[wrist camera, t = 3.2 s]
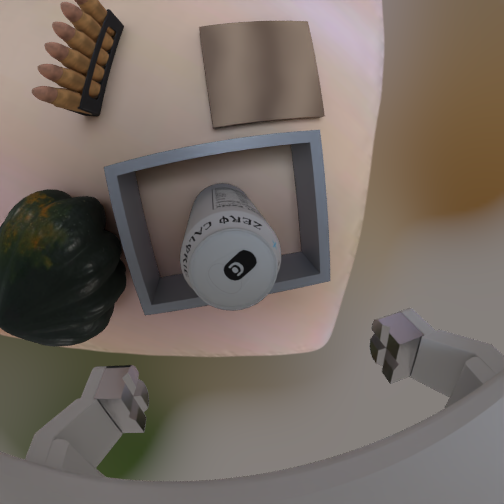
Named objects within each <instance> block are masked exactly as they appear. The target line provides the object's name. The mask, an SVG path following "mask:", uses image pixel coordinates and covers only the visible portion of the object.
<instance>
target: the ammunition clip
mask: <svg viewBox="0 0 504 504" xmlns="http://www.w3.org/2000/svg"><path fill="white" fill-rule="evenodd" d="M75 1H76V2H77V4H78V5H79V6H80V8H81V10H80V9H79V8H78V7H77V6H75V5H73V4H71V3H68V2H62V3H61V10H62V12H63V14H64V15H65V16H66V18H67V19H68V20H70V22H71V23H72V24H73V25H74V27H75V29H74V28H73V27H71V26H70V25H68V24H66V23H63V22H53V24H52V27H53V29H54V31H55V33H56V34H57V35H58V36H59V37H60V38H61V39H63V40H64V41H65V42H66V43H67V44H68V46H69V47H70V48H72V49H70V48H68V47H66V46H64V45H62V44H59V43H54V42H49V43H46V44H45V49H46V51H47V52H48V53H49V54H50V55H51V56H52V57H53V58H55V59H57V60H58V61H60V62H61V63H62V64H63V65H64V66H65V67H67V68H69V69H67V68H63V67H59V66H57V65H53V64H42V65H39V66H38V71H39V72H40V73H41V74H42V75H43V76H44V77H46V78H47V79H49V80H52V81H53V82H55V83H57V84H58V85H59V86H61V87H63V88H53V87H47V86H40V87H36V88H34V89H32V94H33V95H34V96H35V97H36V98H38V99H39V100H42V101H45V102H48V103H51V104H53V105H54V106H56V107H60V108H64V109H67V110H70V111H73V112H76V113H79V114H82V115H84V116H99V115H100V111H101V106H102V102H103V97H104V93H105V88H106V84H107V80H108V76H109V73H110V69H111V65H112V62H113V58H114V55H115V52H116V48H117V45H118V42H119V39H120V36H121V33H122V30H123V27H124V26H123V24H122V23H121V22H120V21H119V20H118V19H117V17H116V16H115V15H114V14H113V13H112V12H111V10H109V9H108V10H107V11H108V12H107V11H106V9H105V8H104V7H103V6H102V5H101V3H100V2H99V1H98V0H75ZM77 30H78V31H77ZM64 88H66V89H64Z"/></svg>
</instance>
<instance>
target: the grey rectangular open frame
mask: <svg viewBox="0 0 504 504" xmlns="http://www.w3.org/2000/svg"><path fill="white" fill-rule="evenodd" d="M287 144H291V151H292V159H293V168H294V176H295V186H296V195H297V205H298V215H299V226H300V238H301V250H302V252H297V253H291V254H286V255H281V264H280V269H279V271H278V274H277V278H276V281H275V283H274V286H273V288H272V289H271V291H270V292H269V293H268V294H271V293H276V292H281V291H286V290H291V289H296V288H300V287H305V286H310V285H314V284H319V283H323V282H328V281H330V251H329V229H328V212H327V197H326V185H325V173H324V163H323V153H322V144H321V135H320V130H311V131H297V132H286V133H276V134H267V135H258V136H250V137H243V138H236V139H229V140H223V141H217V142H211V143H205V144H199V145H194V146H189V147H184V148H179V149H174V150H169V151H165V152H160V153H156V154H152V155H147V156H143V157H139V158H135V159H131V160H128V161H124V162H120V163H116V164H113V165H109V166H106V167H104V171H105V176H106V181H107V186H108V190H109V195H110V199H111V204H112V208H113V212H114V216H115V220H116V224H117V228H118V232H119V236H120V239H121V243H122V246H123V250H124V253H125V257H126V260H127V263H128V267H129V270H130V273H131V276H132V279H133V282H134V285H135V288H136V291H137V294H138V297H139V300H140V303H141V306H142V309H143V311H144V314H145V315H151V314H158V313H164V312H171V311H177V310H183V309H189V308H195V307H201V306H207V305H208V304H207V303H206V302H204V301H203V300H202V299H201V298H200V297H199V296H198V295H197V294H196V293H195V291H194V290H193V289H192V288H191V287H190V286H189V284H188V283H187V281H186V280H185V278H184V275H183V273H182V274H177V275H171V276H166V277H160V274H159V271H158V267H157V264H156V260H155V256H154V252H153V249H152V245H151V241H150V237H149V233H148V229H147V225H146V221H145V216H144V212H143V208H142V203H141V198H140V194H139V189H138V184H137V179H136V174H135V171H137V170H141V169H146V168H150V167H154V166H159V165H163V164H168V163H172V162H177V161H182V160H187V159H192V158H197V157H203V156H208V155H214V154H220V153H226V152H233V151H239V150H246V149H253V148H261V147H269V146H278V145H287Z"/></svg>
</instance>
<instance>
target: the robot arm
mask: <svg viewBox="0 0 504 504" xmlns="http://www.w3.org/2000/svg"><path fill="white" fill-rule="evenodd" d="M372 331H373V332H374V333H375V334H374V335H373V336H372V338H371V339H370V351H371V355H372V358H373V360H374V361H375V363H376V364H379V365H381V366H383V368H382V373H383V374H384V375H385V377H386V379H387V380H388V381H389V383H390V384H391V383H394V382H397V381H400V380H402V379H405V378H407V377H410V376H411V378H413V379H415V380H416V381H418V382H420V383H422V384H424V385H426V386H428V387H430V388H432V389H434V390H436V391H438V392H440V393H442V394H444V395H446V396H448V397H450V398H449V400H448V402H447V404H446V406H445V409H443V410H441V411H440V412H438V413H436V414H434V415H432V416H430V417H429V418H427V419H425V420H423V421H421V422H419V423H417V424H415V425H413V426H411V427H409V428H406V429H404V430H402V431H400V432H398V433H395V434H393V435H391V436H388V437H386V438H384V439H381V440H379V441H376V442H374V443H372V444H369V445H366V446H363V447H361V448H358V449H355V450H352V451H349V452H346V453H343V454H340V455H337V456H334V457H331V458H327V459H324V460H320V461H317V462H313V463H310V464H306V465H301V466H297V467H293V468H288V469H283V470H279V471H274V472H268V473H263V474H256V475H250V476H243V477H236V478H226V479H217V480H216V479H215V480H201V481H140V480H125V479H116V478H107V477H105V476H104V475H103V474H102V473H100V472H99V471H98V470H97V469H96V467H97V465H98V464H99V463H100V462H101V461H102V459H103V458H104V457H105V456H106V454H107V453H108V452H109V451H110V449H111V448H112V446H113V445H114V444H115V443H116V442H117V440H118V439H119V438H120V436H121V435H122V433H142V432H144V430H145V424H146V416H145V414H144V413H143V412H144V411H145V410H146V409H147V408H148V404H149V396H148V391H147V388H146V386H145V384H144V382H142V381H141V380H139V379H138V375H139V372H138V371H137V369H136V367H135V366H133V365H126V366H104V367H95V368H93V369H92V372H91V374H90V377H89V379H88V381H87V384H86V387H85V389H84V391H83V394H82V396H81V399H76V400H75V401H74V402H73V403H72V404H70V405H69V406H68V407H67V408H65V409H64V410H63V411H62V412H61V413H59V414H58V415H57V416H56V417H54V418H53V419H52V420H51V421H50V422H48V423H47V424H46V425H45V426H44V427H42V428H41V429H40V430H39V431H37V432H36V433H35V435H34V437H33V440H32V442H31V445H30V448H29V450H28V453H27V456H26V459H25V460H24V459H21V458H18V457H15V456H12V455H9V454H6V453H4V452H1V451H0V504H504V355H503V354H502V353H500V352H499V351H498V350H497V349H496V348H495V347H494V346H493V345H492V344H488V343H485V342H481V341H478V340H474V339H471V338H467V337H464V336H460V335H456V334H453V333H450V332H446V331H442V330H437V331H436V330H435V329H434V328H433V327H432V326H431V325H430V324H429V323H427V322H426V321H425V320H424V319H423V318H422V317H421V316H420V315H419V314H418V313H417V312H416V311H414V309H412V308H407V309H404V310H402V311H399V312H397V313H394V314H391V315H388V316H384V317H382V318H378V319H375V320H374V321H373V323H372Z"/></svg>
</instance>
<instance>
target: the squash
mask: <svg viewBox="0 0 504 504" xmlns="http://www.w3.org/2000/svg"><path fill="white" fill-rule="evenodd" d="M105 221H106V217H105V211H104V208H103V206H102V205H101V203H100V202H99V201H98V200H97V199H96V198H94V197H89V196H82V197H74V198H72V197H71V196H70V195H68V194H67V193H65V192H63V191H59V190H43V191H38V192H35V193H33V194H30V195H29V196H27V197H25V198H24V199H22V200H21V201H20V202H19V203H17V204H16V205H15V206H14V207H13V209H12V210H11V211H10V212H9V214H8V216H7V217H6V219H5V221H4V222H3V224H2V225H1V227H0V328H1V329H3V330H4V331H6V332H7V333H9V334H11V335H14V336H16V337H19V338H22V339H25V340H28V341H32V342H35V343H39V344H42V345H47V346H70V345H75V344H79V343H82V342H85V341H87V340H89V339H91V338H93V337H94V336H96V335H98V334H99V333H100V332H102V331H103V330H104V329H105V327H106V326H107V325H108V323H109V320H110V318H111V316H112V313H113V309H114V304H115V302H116V301H117V300H118V298H119V297H120V295H121V294H122V293H123V291H124V289H125V287H126V274H125V272H126V268H125V265H124V263H123V262H122V261H121V259H120V257H121V251H122V250H121V243H120V240H119V239H118V237H117V236H116V235H115V234H113V233H111V232H108V231H105V230H104V227H105Z"/></svg>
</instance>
